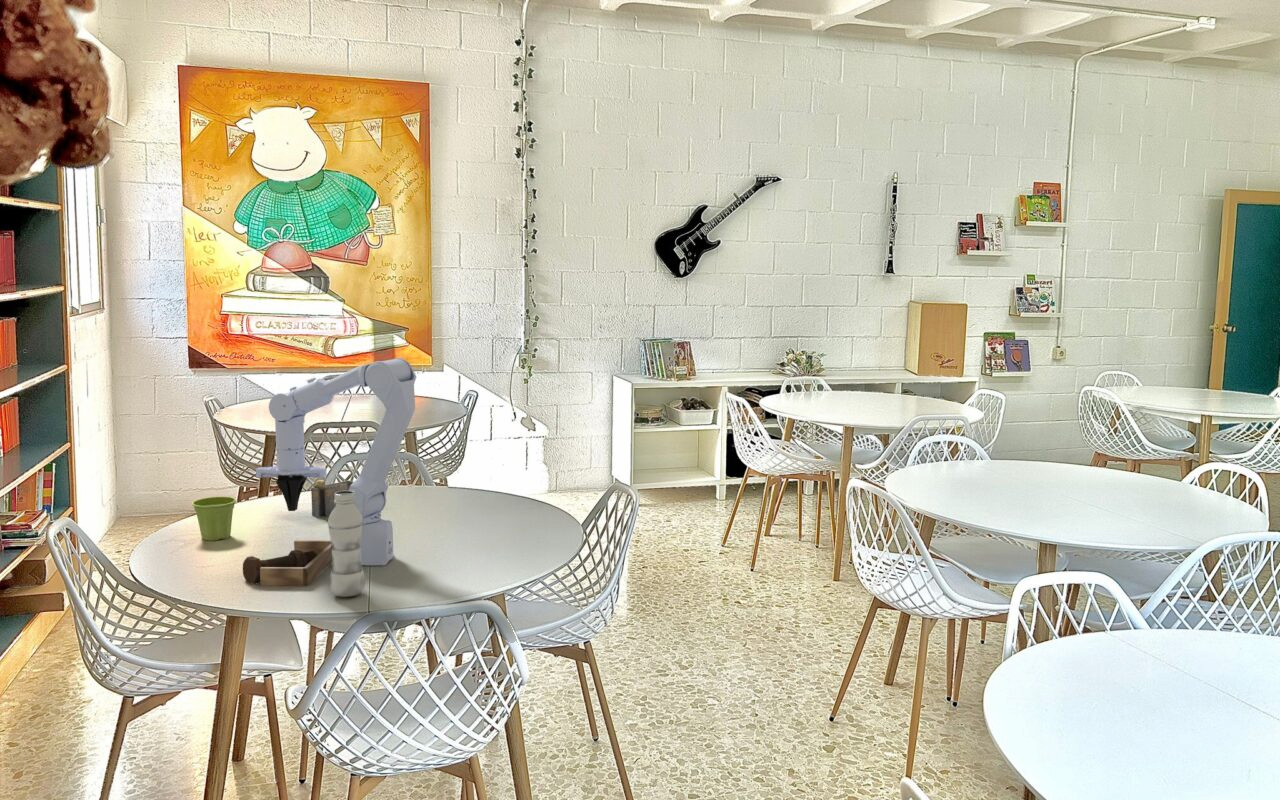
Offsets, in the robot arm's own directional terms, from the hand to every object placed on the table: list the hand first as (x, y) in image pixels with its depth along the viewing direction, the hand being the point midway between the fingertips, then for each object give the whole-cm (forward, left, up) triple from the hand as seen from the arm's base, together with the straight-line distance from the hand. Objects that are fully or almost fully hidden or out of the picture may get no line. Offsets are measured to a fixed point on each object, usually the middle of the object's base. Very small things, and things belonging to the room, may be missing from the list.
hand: (292, 510), depth 217 cm
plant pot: (+23, -14, -10) cm, 28 cm away
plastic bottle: (-19, +28, -10) cm, 35 cm away
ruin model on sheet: (+3, -38, -11) cm, 40 cm away
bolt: (-3, +14, -10) cm, 18 cm away
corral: (-5, +12, -10) cm, 16 cm away
